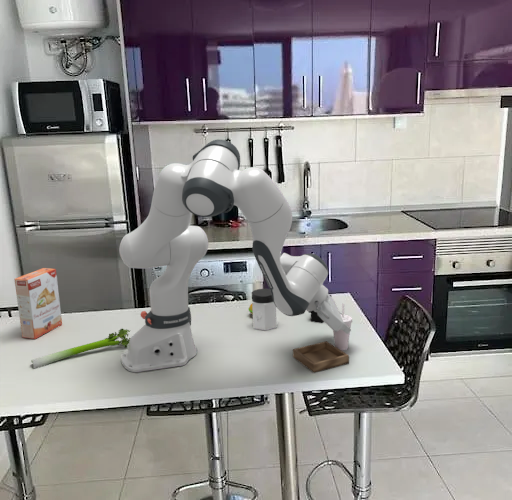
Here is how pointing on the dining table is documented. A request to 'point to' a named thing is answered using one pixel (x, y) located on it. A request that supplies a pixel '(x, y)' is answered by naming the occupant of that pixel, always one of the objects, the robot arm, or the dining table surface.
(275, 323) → the jar
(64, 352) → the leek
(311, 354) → the tray
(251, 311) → the toy pineapple
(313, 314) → the digital camera
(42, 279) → the cracker box
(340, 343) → the smoothie
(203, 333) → the dining table surface
